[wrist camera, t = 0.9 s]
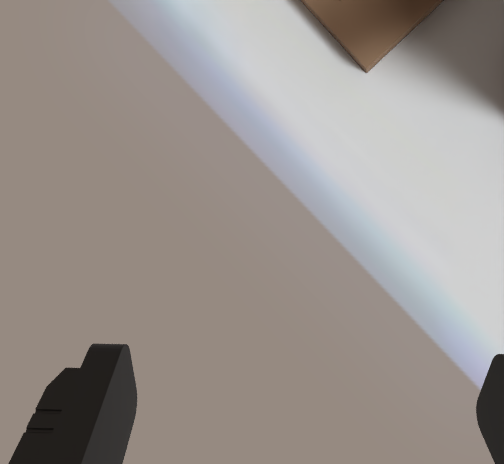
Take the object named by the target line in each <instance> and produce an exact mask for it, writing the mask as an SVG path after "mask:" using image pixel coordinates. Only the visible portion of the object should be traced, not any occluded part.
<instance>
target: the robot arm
mask: <svg viewBox="0 0 504 464" xmlns="http://www.w3.org/2000/svg"><path fill="white" fill-rule="evenodd" d="M136 407H137V390H136V383H135V378H134V372H133V366H132V360H131V354H130V349H129V346H128V345H127V344H92V345H91V347H90V348H89V350H88V352H87V354H86V356H85V359H84V361H83V363H82V366H81V368H65V369H64V370H63V371H62V372H61V373H60V374H59V375H58V376H57V377H56V378H55V379H54V380H53V381H52V382H51V383H50V384H49V385H48V386H47V387H46V389H45V391H44V393H43V395H42V397H41V399H40V401H39V403H38V405H37V407H36V412H35V414H33V415H32V418H31V419H30V422H29V423H28V425H27V430H26V433H24V434H23V436H22V438H21V440H20V442H19V444H18V446H17V448H16V450H15V452H14V454H13V456H12V458H11V460H10V462H9V464H122V463H123V460H124V456H125V452H126V449H127V445H128V441H129V438H130V434H131V430H132V427H133V423H134V419H135V414H136ZM476 413H477V421H478V425H479V428H480V431H481V433H482V435H483V438H484V439H485V442H486V444H487V447H488V449H489V451H490V453H491V456H492V458H493V460H494V462H495V464H504V354H498V355H496V356H495V357H494V358H493V360H492V363H491V365H490V368H489V371H488V373H487V376H486V378H485V381H484V384H483V386H482V389H481V392H480V394H479V397H478V400H477V406H476Z"/></svg>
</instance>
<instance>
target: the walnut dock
mask: <svg viewBox="0 0 504 464" xmlns="http://www.w3.org/2000/svg"><path fill="white" fill-rule="evenodd" d="M301 1H302V2H303V4H304V5H305V6H306V7H307V8H308V9H309V10H310V11H311V12H312V14H313V15H314V16H315V17H316V18H317V19H318V20H319V21H320V22H321V23H322V25H323V26H324V27H325V28H326V29H327V30H328V31H329V32H330V33H331V34H332V36H333V37H334V38H335V39H336V40H337V41H338V42H339V43H340V44H341V45H342V47H343V48H344V49H345V50H346V51H347V52H348V53H349V54H350V55H351V56H352V58H353V59H354V60H355V61H356V62H357V63H358V64H359V65H360V66H361V68H362V69H363V70H364V71H365V72H366V73H367V72H368V71H369V70H371V69H372V68H373V67H374V66H375V65H376V64H377V63H378V62H379V61H380V60H381V59H382V58H383V57H384V56H385V55H386V54H387V53H389V52H390V51H391V50H392V49H393V48H394V47H395V46H396V45H397V44H398V43H399V42H400V41H401V40H402V39H403V38H404V37H405V36H407V35H408V34H409V33H410V32H411V31H412V30H413V29H414V28H415V27H416V26H417V25H418V24H419V23H420V22H421V21H422V20H424V19H425V18H426V17H427V16H428V15H429V14H430V13H431V12H432V11H433V10H434V9H435V8H436V7H437V6H438V5H439V4H440V3H442V2H443V1H444V0H301Z"/></svg>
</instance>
